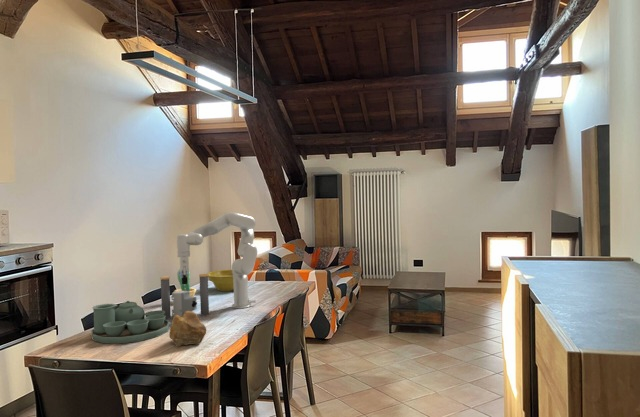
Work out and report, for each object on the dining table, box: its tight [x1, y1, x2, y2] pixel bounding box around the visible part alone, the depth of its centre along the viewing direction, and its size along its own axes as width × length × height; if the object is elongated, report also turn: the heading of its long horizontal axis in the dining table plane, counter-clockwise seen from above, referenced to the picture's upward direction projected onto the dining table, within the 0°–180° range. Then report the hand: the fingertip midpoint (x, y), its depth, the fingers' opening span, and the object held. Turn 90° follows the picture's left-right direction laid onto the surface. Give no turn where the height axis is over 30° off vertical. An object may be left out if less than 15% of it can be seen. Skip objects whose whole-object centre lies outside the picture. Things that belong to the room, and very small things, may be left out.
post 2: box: [198, 273, 210, 316], centre depth 294 cm, size 5×5×25 cm
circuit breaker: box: [171, 291, 198, 318], centre depth 291 cm, size 8×14×15 cm, turn 78°
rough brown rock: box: [169, 311, 207, 347], centre depth 237 cm, size 23×17×15 cm
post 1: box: [160, 276, 172, 320], centre depth 288 cm, size 5×5×25 cm
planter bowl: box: [206, 269, 234, 292], centre depth 374 cm, size 32×32×13 cm
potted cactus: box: [173, 268, 197, 297], centre depth 333 cm, size 15×15×25 cm
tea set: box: [90, 300, 171, 344], centre depth 258 cm, size 40×40×16 cm
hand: (184, 283), depth 291 cm, fingers closed
